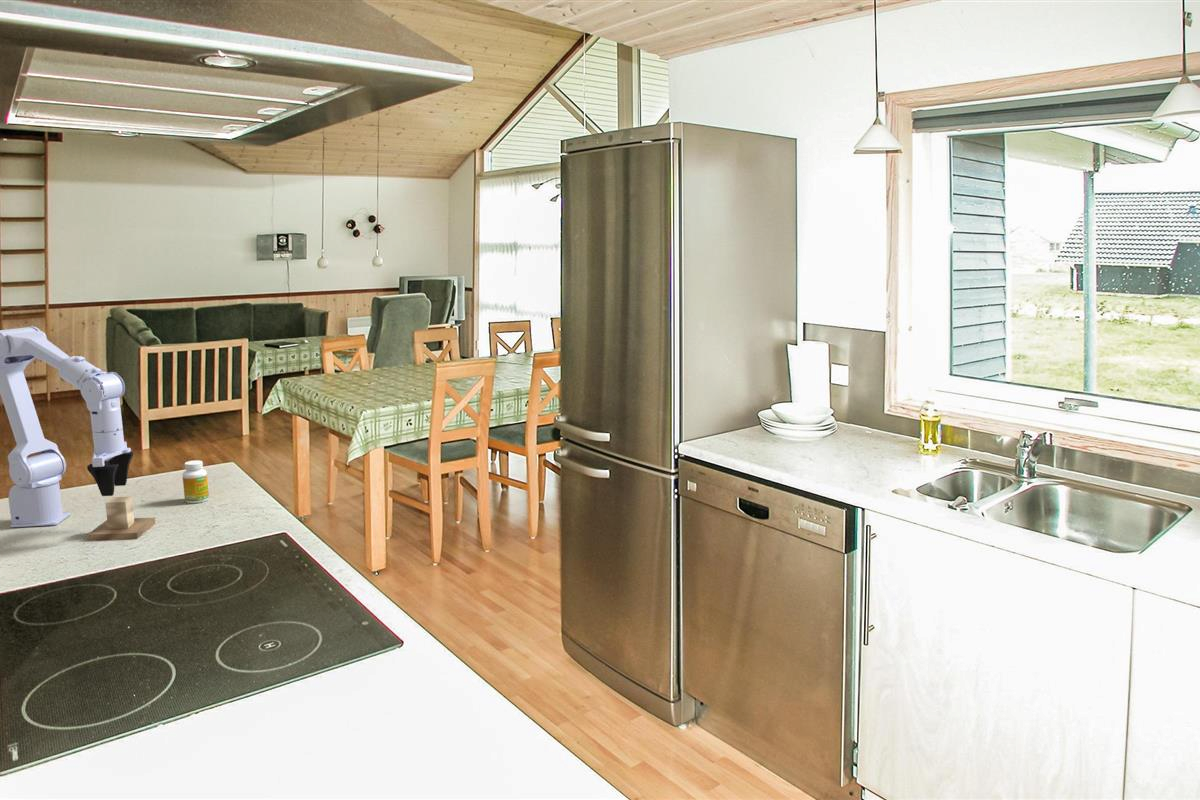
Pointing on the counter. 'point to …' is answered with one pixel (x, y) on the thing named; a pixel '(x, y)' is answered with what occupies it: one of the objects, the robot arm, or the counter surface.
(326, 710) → the counter surface
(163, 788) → the counter surface
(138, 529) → the walnut block
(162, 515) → the counter surface
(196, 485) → the supplement bottle
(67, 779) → the counter surface
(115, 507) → the birch block
